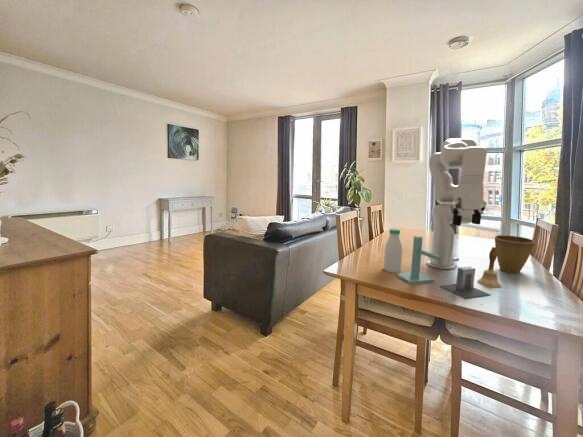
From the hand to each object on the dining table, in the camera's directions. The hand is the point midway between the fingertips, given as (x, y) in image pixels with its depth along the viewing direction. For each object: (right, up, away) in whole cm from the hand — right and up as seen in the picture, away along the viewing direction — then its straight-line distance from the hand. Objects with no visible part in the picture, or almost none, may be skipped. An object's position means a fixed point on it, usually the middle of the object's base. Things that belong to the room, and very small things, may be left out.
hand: (466, 224), depth 107 cm
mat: (+1, -26, +2) cm, 27 cm away
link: (+1, -26, +2) cm, 26 cm away
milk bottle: (-20, -23, +25) cm, 39 cm away
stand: (-13, -25, +11) cm, 30 cm away
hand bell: (+16, -26, +10) cm, 32 cm away
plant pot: (+38, -23, +27) cm, 52 cm away
